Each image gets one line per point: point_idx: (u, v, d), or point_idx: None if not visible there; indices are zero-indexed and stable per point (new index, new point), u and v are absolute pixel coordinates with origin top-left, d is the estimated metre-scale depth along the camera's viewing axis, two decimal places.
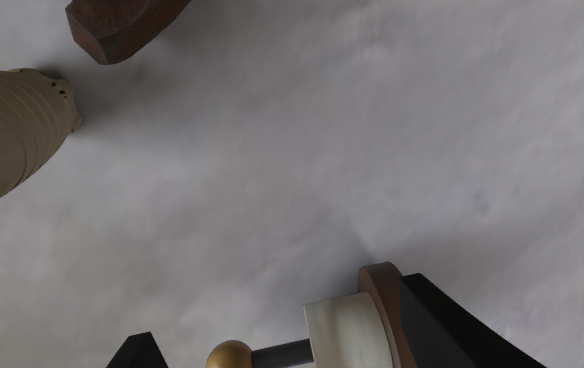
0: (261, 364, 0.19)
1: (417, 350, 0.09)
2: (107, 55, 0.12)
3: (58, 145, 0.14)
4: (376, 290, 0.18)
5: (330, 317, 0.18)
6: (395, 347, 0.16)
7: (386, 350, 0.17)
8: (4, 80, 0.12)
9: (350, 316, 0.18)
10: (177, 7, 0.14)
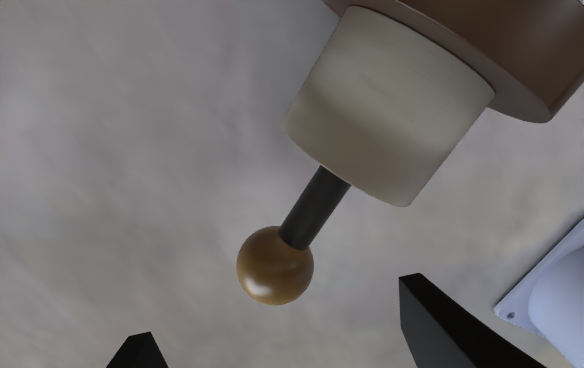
0: (293, 231, 0.12)
1: (417, 351, 0.09)
2: None
3: None
4: None
5: (304, 89, 0.10)
6: None
7: (408, 37, 0.08)
8: None
9: (326, 58, 0.09)
10: None
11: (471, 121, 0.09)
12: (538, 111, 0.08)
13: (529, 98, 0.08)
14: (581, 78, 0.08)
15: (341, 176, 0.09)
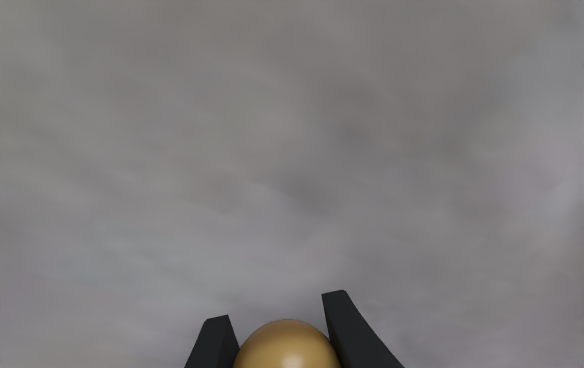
0: None
1: None
2: None
3: None
4: None
5: None
6: None
7: None
8: None
9: None
10: None
11: None
12: None
13: None
14: None
15: None
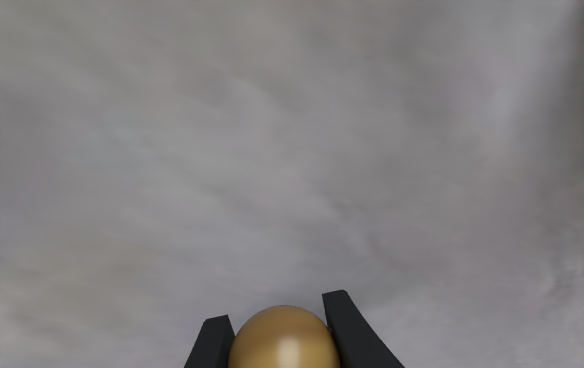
0: None
1: None
2: None
3: None
4: None
5: None
6: None
7: None
8: None
9: None
10: None
11: None
12: None
13: None
14: None
15: None
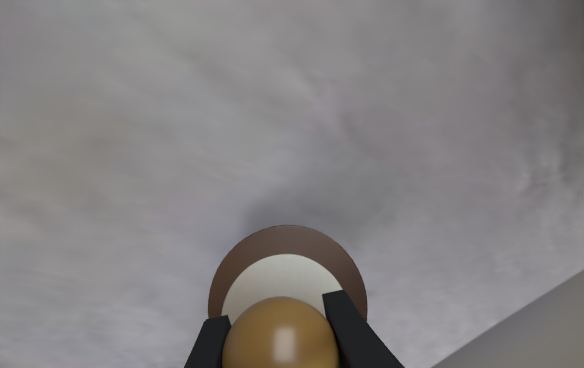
0: None
1: None
2: None
3: None
4: (364, 296, 0.17)
5: None
6: None
7: None
8: None
9: None
10: None
11: None
12: None
13: None
14: None
15: None
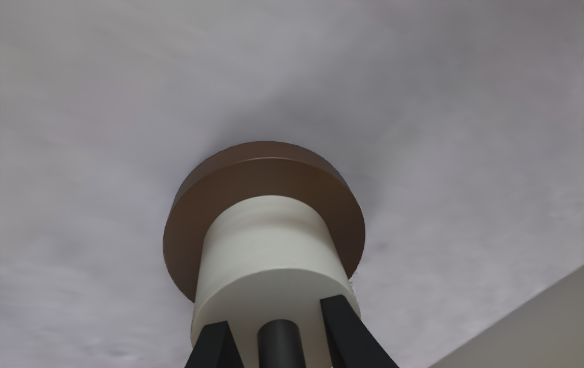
0: None
1: None
2: None
3: None
4: (362, 236, 0.14)
5: None
6: None
7: None
8: None
9: None
10: None
11: None
12: None
13: None
14: None
15: None
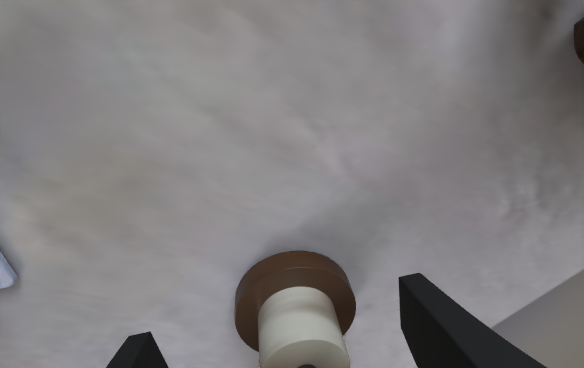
0: None
1: (417, 350, 0.09)
2: None
3: None
4: (354, 306, 0.22)
5: None
6: None
7: None
8: None
9: None
10: None
11: None
12: None
13: None
14: None
15: None
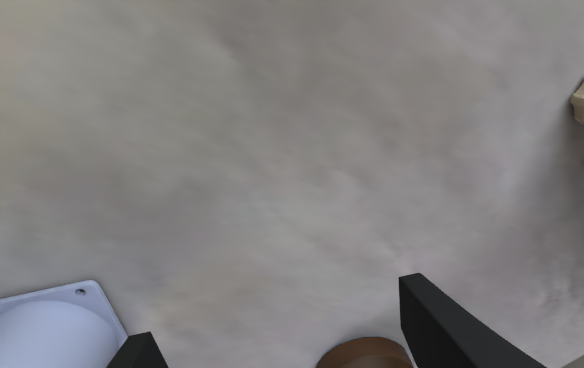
0: None
1: (417, 350, 0.09)
2: None
3: None
4: None
5: None
6: None
7: None
8: None
9: None
10: None
11: None
12: None
13: None
14: None
15: None
